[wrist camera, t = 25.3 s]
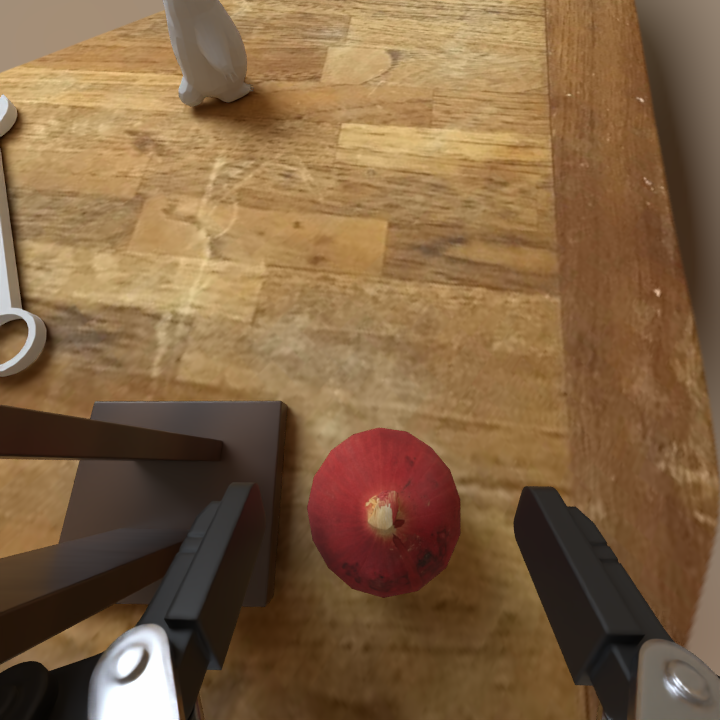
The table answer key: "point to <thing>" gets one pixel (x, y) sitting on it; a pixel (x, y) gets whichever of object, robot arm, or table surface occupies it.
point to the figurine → (206, 51)
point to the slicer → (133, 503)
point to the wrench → (14, 270)
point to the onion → (384, 512)
